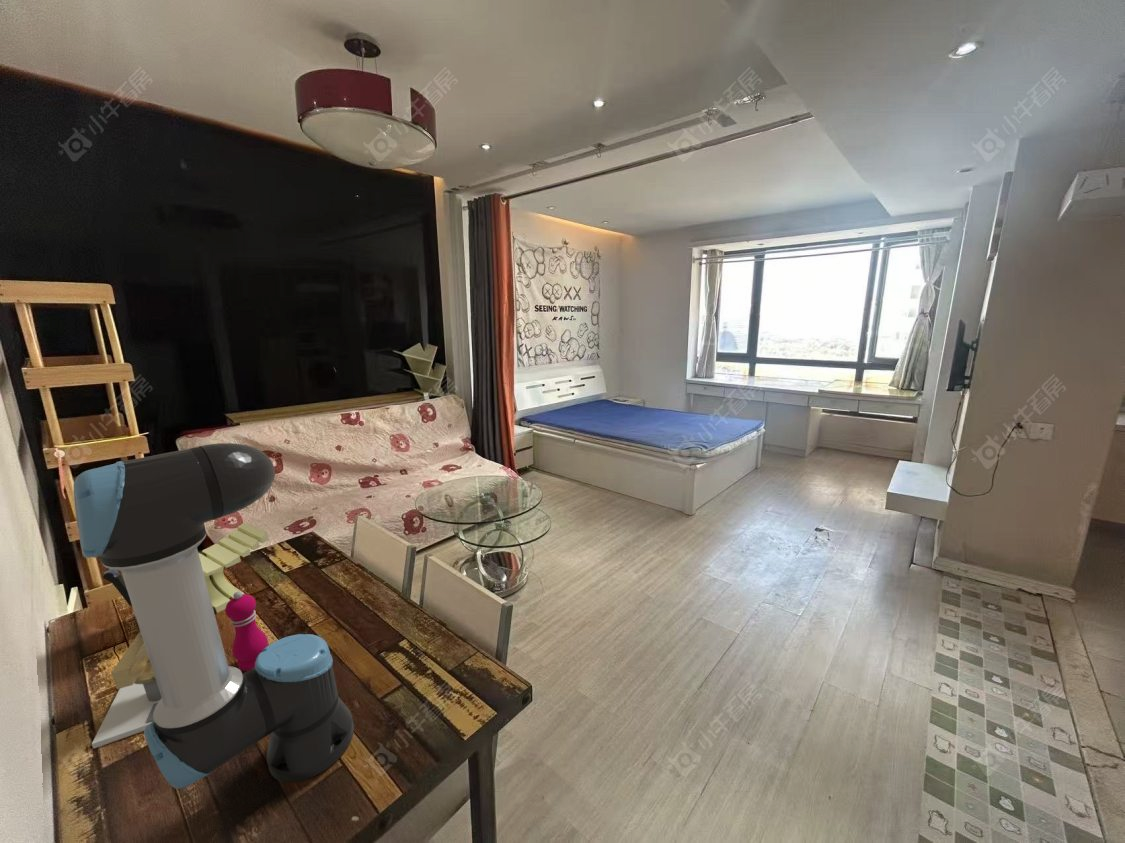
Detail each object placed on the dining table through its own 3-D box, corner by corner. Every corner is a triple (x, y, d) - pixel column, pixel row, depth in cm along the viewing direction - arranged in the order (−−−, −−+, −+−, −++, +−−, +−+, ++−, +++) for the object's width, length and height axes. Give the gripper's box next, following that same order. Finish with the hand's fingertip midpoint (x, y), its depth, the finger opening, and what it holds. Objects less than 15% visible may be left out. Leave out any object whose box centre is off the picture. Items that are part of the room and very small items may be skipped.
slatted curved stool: (252, 567, 150) (241, 520, 145) (278, 581, 142) (267, 532, 137) (137, 621, 125) (119, 566, 120) (159, 642, 117) (142, 583, 112)
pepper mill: (253, 674, 106) (236, 603, 101) (228, 670, 107) (210, 600, 102) (278, 652, 113) (262, 584, 108) (254, 648, 114) (238, 581, 109)
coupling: (95, 719, 87) (80, 680, 84) (144, 643, 106) (134, 610, 104) (167, 698, 91) (155, 661, 89) (202, 629, 111) (193, 597, 108)
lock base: (204, 709, 97) (197, 682, 95) (93, 748, 89) (82, 720, 87) (219, 654, 112) (213, 630, 111) (125, 683, 104) (117, 658, 102)
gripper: (90, 552, 92) (119, 646, 98) (171, 532, 100) (194, 620, 106) (96, 537, 98) (123, 627, 104) (172, 520, 105) (194, 604, 112)
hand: (159, 624), depth 105 cm, fingers closed
